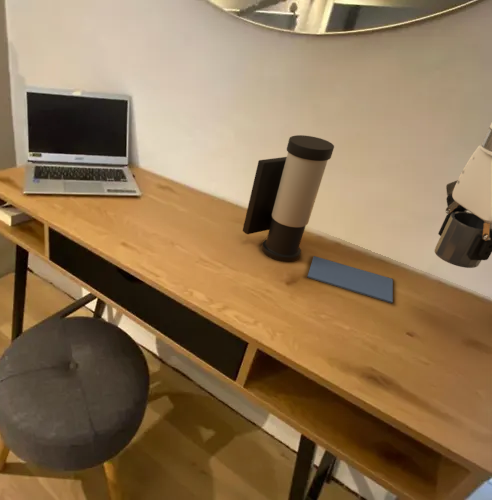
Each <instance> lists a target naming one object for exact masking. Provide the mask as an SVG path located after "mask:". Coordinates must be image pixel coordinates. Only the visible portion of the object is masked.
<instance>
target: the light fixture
mask: <svg viewBox="0 0 492 500" xmlns="http://www.w3.org/2000/svg"><path fill="white" fill-rule="evenodd" d="M334 148H335V145H334V144H333V143H332V142H330V141H329V140H326V139H324V138H321V137H317V136H311V135H304V134H303V135H302V134H301V135H300V134H299V135H298V134H297V135H292V136H290V137H289V138H288V142H287V145H286V152H287V154H286V156H282V157H274V158H267V159H259V160H258V162H257V166H256V170H255V175H254V179H253V184H252V187H251V191H250V196H249V200H248V205H247V209H246V214H245V217H244V223H243V226H242V232H243V233H245V234H246V235H251V234H256V233H260V232H261V233H262V232H266V231H268V232H267V236H266V238H265V239H264V240H263V241H262V242H261V243H262V244H261V251H262V252H263V254H264V255H265V256H266V257H268V258H271V259H272V260H275V261H279V262H283V263H285V262H286V263H290V262H295V261H297V260H299V259H300V256H301V253H302V249H301V247H300V245H301V243H302V238H303V236H304V233H305V229H306V226H307V225H308V224H309V222H310V219H311V216H312V212H313V209H314V205H315V203H316V199H317V196H318V192H319V190H320V186H321V183H322V180H323V176H324V174H325V170H326V167H327V164H328V161H329V160H330V159H331V158H332V156H333V152H334Z"/></svg>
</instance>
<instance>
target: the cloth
mask: <svg viewBox="0 0 492 500" xmlns="http://www.w3.org/2000/svg"><path fill="white" fill-rule="evenodd" d="M307 278H308V279H311V280H315V281H318V282H319V283H320V282H321V283H324V284H328V285H331V286H333V287H336V288H341V289H344V290H346V291H349V292H353V293H357V294H360V295H363V296H367V297H369V298H372V299H376V300H380V301H382V302H386V303H389V304H392V303H393V302H394V294H393V293H394V292H393V291H394V284H393V283H394V279H393V278H391V277H388V276H384V275H381V274H378V273H375V272H370V271H367V270H363V269H360V268H356V267H354V266H350V265H346V264H343V263H339V262H336V261H332V260H329V259H325V258H322V257H320V256H315V255H313V256H312V259H311V263H310V268H309V271H308V273H307Z"/></svg>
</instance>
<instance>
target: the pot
mask: <svg viewBox="0 0 492 500" xmlns="http://www.w3.org/2000/svg"><path fill="white" fill-rule="evenodd" d="M483 224H484V220H482V219H480V218H479V217H477V216H476V215H474V214H473V213H471V212H470V211H466V212H460V211H457V212H453V213H452V214H451V216H450V218H449V220H448V222H447V224H446V226H445V228H444V230H443V233H442V235H441V236H440V237H439V238H438V241H437V243H436V245H435V248H434V253H435V255H436V256H437V257H438V258H439V259H441V260H442V261H444V262H446V263H448V264H450V265H453V266H456V267H460V268H464V269H465V268H467V269H474V268H477V267H479V266H480V264H481V262H482V260H470V259H469V258H468V255H469V253H470V252H471V250H472V248H473V246H474V244H475V242H476V240H477V238H478V237H482V236H483Z"/></svg>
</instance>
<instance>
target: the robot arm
mask: <svg viewBox="0 0 492 500" xmlns="http://www.w3.org/2000/svg"><path fill="white" fill-rule="evenodd" d="M445 189H446V198H445V199H446V206H447V207H446V208H445V214H446V216H445V217H444V220H443V222H442V225H441V226H440V229H439V231H438V233H437V234H438V235H439V236H440V237H441V235H442V233H443V230H444V228H445V226H446V224H447V222H448V220H449V218H450V216H451V214H452V213H453V212H457V211H460V212H469V213H473V214H474V215H476V216H477V217H479V218H480V219H482V220H484V224H483V236H482V237H478V238H477V240H476V242H475V244H474V246H473V248H472V250H471V252H470V253H469V255H468V258H469V259H470V260H481V261H488V260H489V258H490V256H491V254H492V122H491V123H490V125H489V127H488V129H487V131H486V134H485V135H484V137H483V140H482V142H481V144H479V145H478V146H477V147H476V149H475V150H474V151H473V153H472V154H471V156H470V158H469V159H468V161H467V162H466V164H465V166H464V167H463V169H462V171H461V173H460V175H459V177H458V179H457V180H454V181H452V182H449V183H447V184H446V186H445Z"/></svg>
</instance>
